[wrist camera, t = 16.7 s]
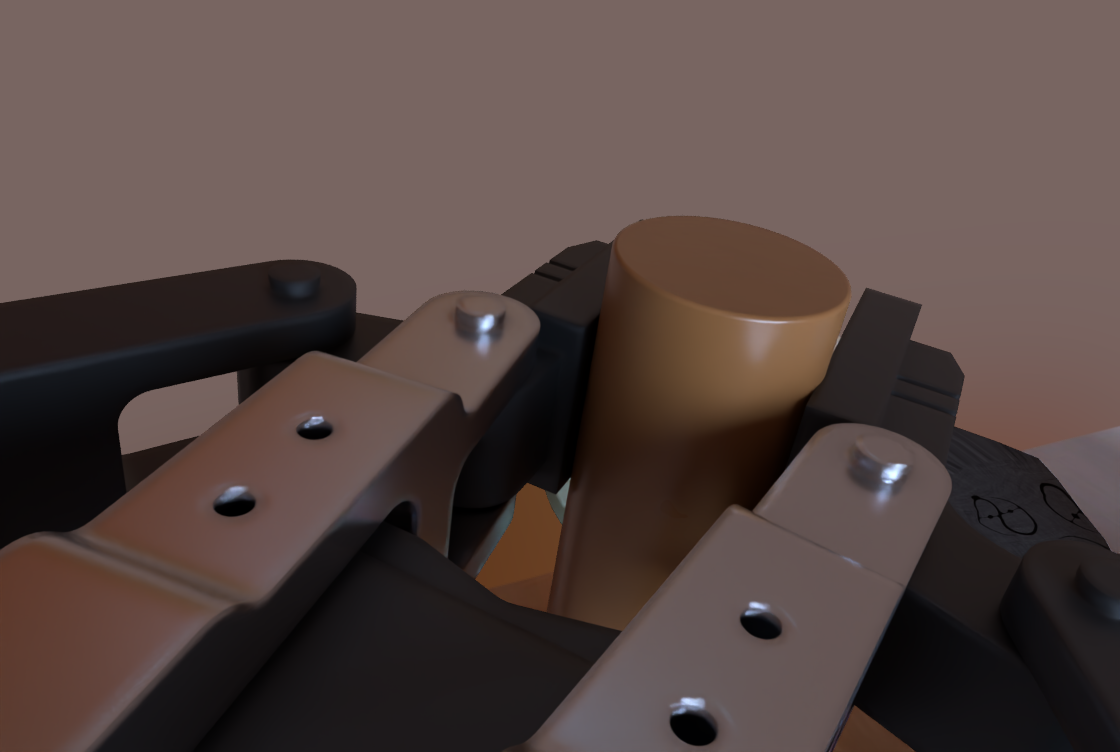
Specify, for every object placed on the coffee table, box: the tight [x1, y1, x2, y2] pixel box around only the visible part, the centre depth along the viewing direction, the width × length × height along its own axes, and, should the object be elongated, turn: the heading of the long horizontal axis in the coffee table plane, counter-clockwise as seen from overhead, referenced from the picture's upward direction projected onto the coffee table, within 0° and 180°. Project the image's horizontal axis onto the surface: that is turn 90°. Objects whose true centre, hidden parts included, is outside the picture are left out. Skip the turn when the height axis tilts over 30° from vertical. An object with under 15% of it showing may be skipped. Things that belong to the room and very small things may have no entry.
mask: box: [945, 427, 1111, 559], centre depth 70 cm, size 21×5×28 cm
